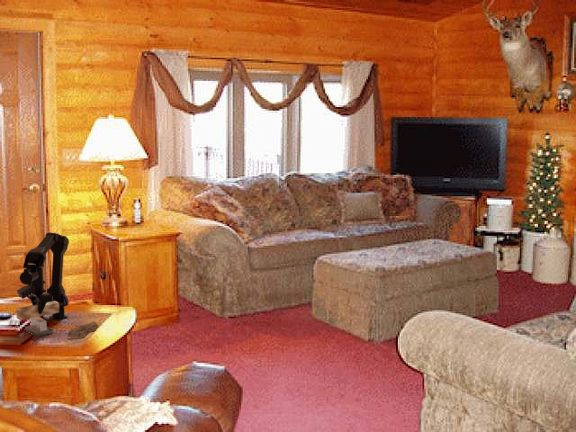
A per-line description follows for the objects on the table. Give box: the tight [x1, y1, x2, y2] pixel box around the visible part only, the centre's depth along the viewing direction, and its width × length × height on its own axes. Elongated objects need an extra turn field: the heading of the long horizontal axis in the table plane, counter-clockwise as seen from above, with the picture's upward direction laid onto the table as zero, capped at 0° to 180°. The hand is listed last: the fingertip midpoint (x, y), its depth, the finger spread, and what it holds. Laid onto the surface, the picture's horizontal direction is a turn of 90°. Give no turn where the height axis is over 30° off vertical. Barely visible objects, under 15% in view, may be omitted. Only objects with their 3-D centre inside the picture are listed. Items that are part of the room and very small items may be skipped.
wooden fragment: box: [67, 321, 100, 340], centre depth 324 cm, size 26×11×1 cm, turn 167°
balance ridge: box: [24, 316, 54, 338], centre depth 321 cm, size 12×8×6 cm, turn 43°
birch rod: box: [15, 301, 59, 321], centre depth 320 cm, size 18×4×4 cm, turn 133°
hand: (38, 312), depth 320 cm, fingers closed on birch rod, 4 cm apart
